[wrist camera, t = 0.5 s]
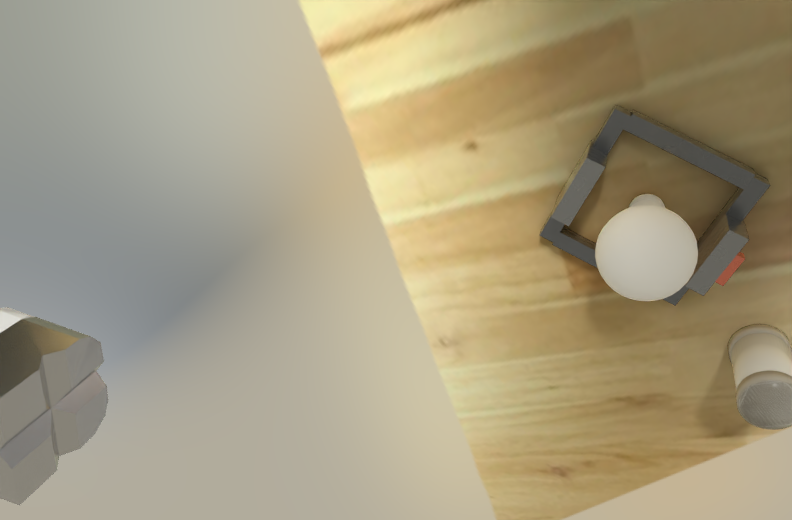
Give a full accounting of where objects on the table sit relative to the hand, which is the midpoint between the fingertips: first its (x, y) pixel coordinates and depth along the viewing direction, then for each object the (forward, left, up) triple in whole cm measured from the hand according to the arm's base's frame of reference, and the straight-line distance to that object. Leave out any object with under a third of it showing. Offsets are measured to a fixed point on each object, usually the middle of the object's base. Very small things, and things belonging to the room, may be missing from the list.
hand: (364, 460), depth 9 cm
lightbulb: (+10, +10, -44) cm, 46 cm away
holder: (+10, +10, -43) cm, 46 cm away
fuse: (+16, +23, -43) cm, 52 cm away
